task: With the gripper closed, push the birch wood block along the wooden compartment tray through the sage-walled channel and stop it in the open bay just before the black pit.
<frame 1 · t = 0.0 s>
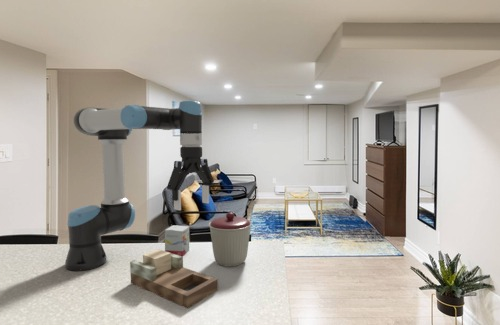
hand: (192, 206, 110), 28 cm above the counter, tool pointing down, fingers open, 13 cm apart
ink box: (177, 253, 142), on the counter
wooden compartment tray: (173, 286, 109), on the counter
birch block: (157, 269, 114), point 4 cm above the counter, touching wooden compartment tray
canister: (230, 262, 132), on the counter
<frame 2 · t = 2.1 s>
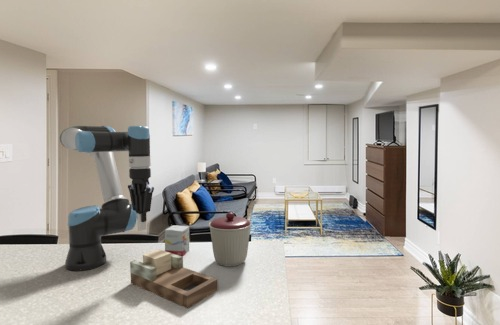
hand: (142, 229, 118), 18 cm above the counter, tool pointing down, fingers closed
nothing on the counter moved.
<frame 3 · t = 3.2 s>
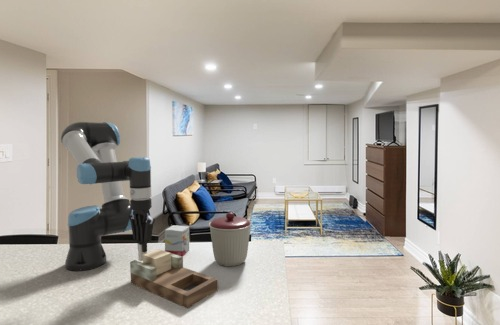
hand: (142, 259, 119), 6 cm above the counter, tool pointing down, fingers closed
nothing on the counter moved.
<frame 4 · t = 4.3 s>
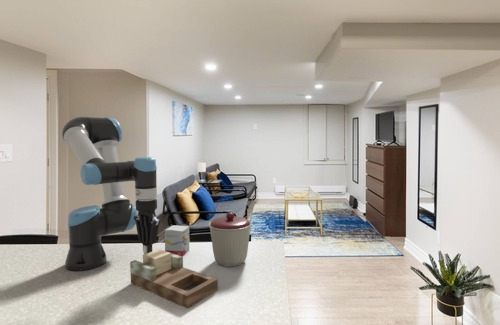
hand: (148, 261, 117), 6 cm above the counter, tool pointing down, fingers closed
birch block: (157, 269, 114), point 4 cm above the counter, touching gripper, wooden compartment tray
everything else where it was.
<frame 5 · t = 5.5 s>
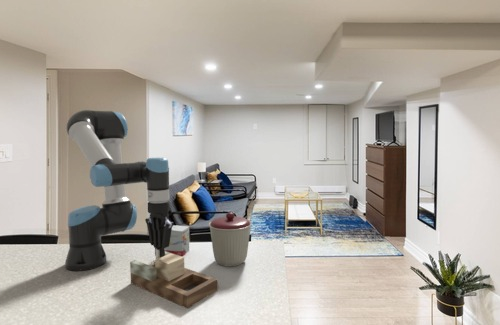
hand: (160, 265, 113), 6 cm above the counter, tool pointing down, fingers closed
birch block: (170, 274, 110), point 4 cm above the counter, touching gripper
everything else where it was.
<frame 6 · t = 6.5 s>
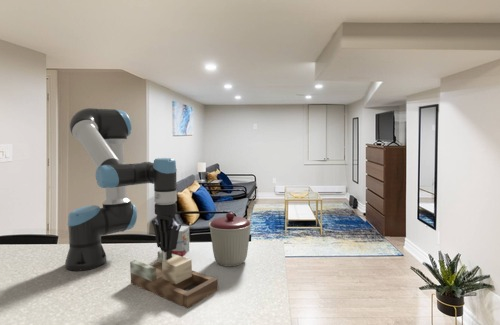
hand: (167, 268, 111), 6 cm above the counter, tool pointing down, fingers closed
birch block: (177, 277, 108), point 4 cm above the counter, touching gripper, wooden compartment tray
everything else where it was.
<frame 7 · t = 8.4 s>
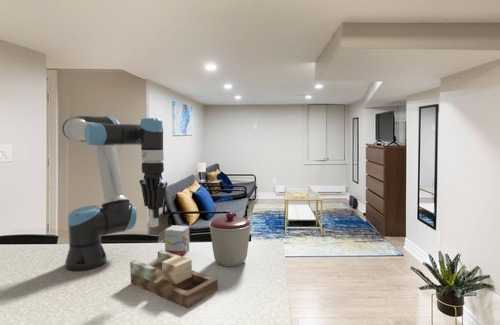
hand: (154, 226, 113), 20 cm above the counter, tool pointing down, fingers closed
birch block: (177, 277, 108), point 4 cm above the counter, touching wooden compartment tray
everything else where it was.
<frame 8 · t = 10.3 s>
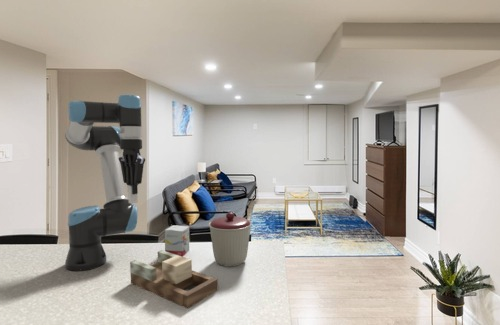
hand: (133, 202, 115), 28 cm above the counter, tool pointing down, fingers closed
nothing on the counter moved.
at the end: birch block 0.1 cm from the target spot, point 4.0 cm above the counter; birch block tilted 0° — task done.
